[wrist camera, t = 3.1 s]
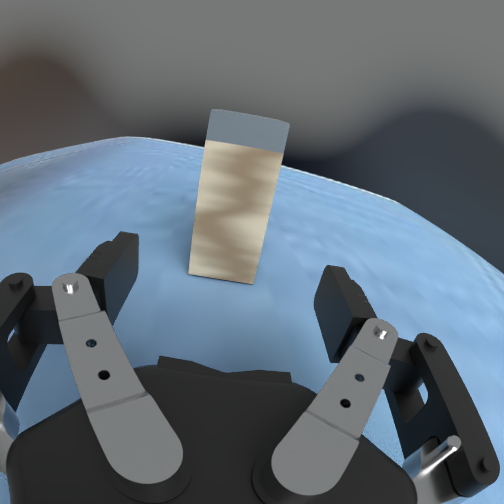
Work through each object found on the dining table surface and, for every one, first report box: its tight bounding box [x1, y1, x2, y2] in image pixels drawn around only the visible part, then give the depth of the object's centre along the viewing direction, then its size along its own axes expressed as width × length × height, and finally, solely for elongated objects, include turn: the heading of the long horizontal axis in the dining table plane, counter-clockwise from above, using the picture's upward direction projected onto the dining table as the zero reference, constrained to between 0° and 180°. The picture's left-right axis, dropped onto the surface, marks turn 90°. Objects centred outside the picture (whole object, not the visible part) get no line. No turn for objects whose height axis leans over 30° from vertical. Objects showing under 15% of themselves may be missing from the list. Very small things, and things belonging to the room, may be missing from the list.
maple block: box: [188, 109, 290, 284], centre depth 22 cm, size 5×5×12 cm
